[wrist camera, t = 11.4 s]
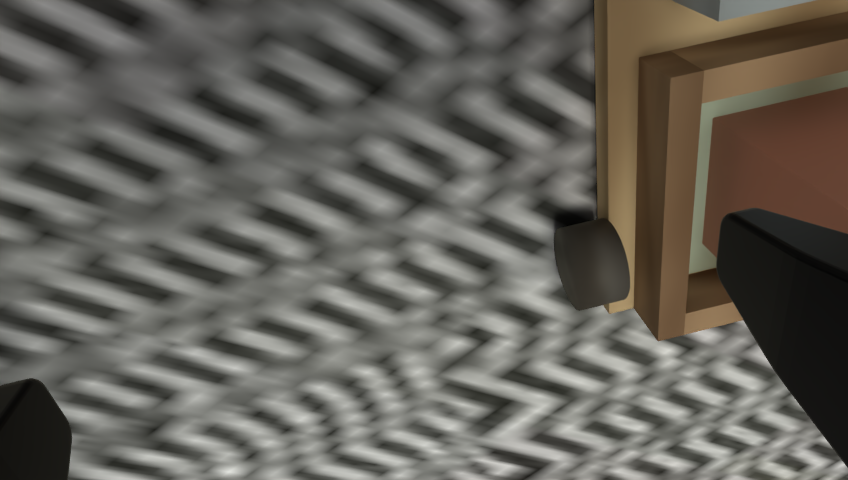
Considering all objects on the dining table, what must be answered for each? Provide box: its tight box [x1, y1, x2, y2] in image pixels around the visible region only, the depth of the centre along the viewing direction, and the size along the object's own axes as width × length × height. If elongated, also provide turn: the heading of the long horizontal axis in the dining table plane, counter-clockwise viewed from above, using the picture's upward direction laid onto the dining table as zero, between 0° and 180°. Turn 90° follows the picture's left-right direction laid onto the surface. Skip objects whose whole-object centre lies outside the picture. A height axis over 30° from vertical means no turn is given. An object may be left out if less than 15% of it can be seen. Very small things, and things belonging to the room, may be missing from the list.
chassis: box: [554, 0, 848, 341], centre depth 20 cm, size 15×20×4 cm
